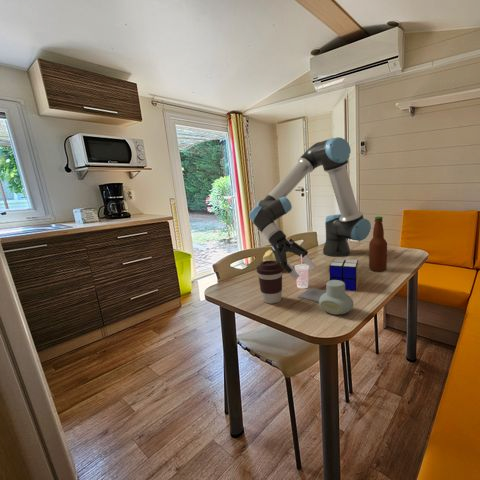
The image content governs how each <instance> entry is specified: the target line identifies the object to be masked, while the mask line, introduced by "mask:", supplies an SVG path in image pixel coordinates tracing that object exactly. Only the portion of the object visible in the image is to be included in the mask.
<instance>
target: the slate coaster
mask: <svg viewBox="0 0 480 480" xmlns="http://www.w3.org/2000/svg"><path fill="white" fill-rule="evenodd" d="M324 293H326V290H324V289H320V288H314V287H309V288H308V289H306V290H305V291H303V292H302V293H300V294H298V295H297V298H298V299H301V300H306V301H310V302H312V303H313V302H314V303H317V304H319V299H320V297H321V296H322V295H323V294H324Z"/></svg>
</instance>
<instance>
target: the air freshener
mask: <svg viewBox="0 0 480 480" xmlns="http://www.w3.org/2000/svg"><path fill="white" fill-rule="evenodd" d="M325 285H326V286H325V288H326V290H325V291H326V293H324V294H323V295H322V296H321V297H320V299H319V303H318V305H319V306H320V308H321V309H322V310H323V311H324V312H327V313H329V314H331V315H344V314H347V313H348V312H350V311H352V309H353V307H354V300H353V299H352V297H351V296H350V295H349V294H347V293H346V290H345V283H344V282H342V281H339V280H330V279H329V280H328V281H326V283H325Z"/></svg>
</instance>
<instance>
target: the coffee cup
mask: <svg viewBox="0 0 480 480" xmlns="http://www.w3.org/2000/svg"><path fill="white" fill-rule="evenodd" d="M256 272H257V273H258V282H259V288H260V293H261V297H262V301H263V302H264V303H265V304H271V305H272V304H277V303H279V302H281V300H282V290H283V274H282V273H283V272H284V268H283V266H282V265H281V264H279V263H278V262H277V261H271V260H270V261H264V262H263V261H262V262H260V264H259V265H258V266H257V267H256Z"/></svg>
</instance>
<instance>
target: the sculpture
mask: <svg viewBox="0 0 480 480" xmlns="http://www.w3.org/2000/svg"><path fill="white" fill-rule="evenodd" d="M270 260H271V261H276V258H275V256H274V253H273V251H272V250H271V249H268V250H266V252H265V253H264V255H263V257H262V262H264V261H270ZM280 263H281V262H280Z"/></svg>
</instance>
